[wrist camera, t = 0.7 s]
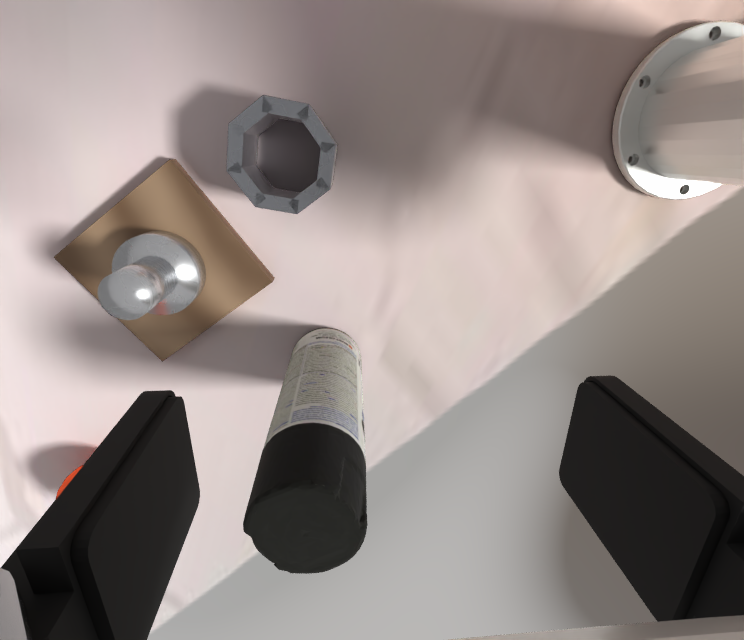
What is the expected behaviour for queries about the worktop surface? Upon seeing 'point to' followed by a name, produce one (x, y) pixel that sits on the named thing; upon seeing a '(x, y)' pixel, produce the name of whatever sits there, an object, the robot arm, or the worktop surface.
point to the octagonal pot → (246, 145)
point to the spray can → (313, 461)
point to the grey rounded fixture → (152, 276)
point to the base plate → (189, 220)
